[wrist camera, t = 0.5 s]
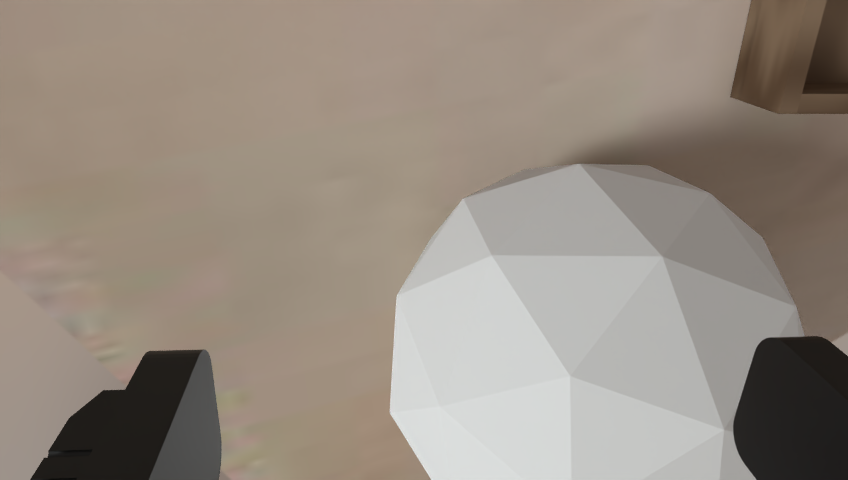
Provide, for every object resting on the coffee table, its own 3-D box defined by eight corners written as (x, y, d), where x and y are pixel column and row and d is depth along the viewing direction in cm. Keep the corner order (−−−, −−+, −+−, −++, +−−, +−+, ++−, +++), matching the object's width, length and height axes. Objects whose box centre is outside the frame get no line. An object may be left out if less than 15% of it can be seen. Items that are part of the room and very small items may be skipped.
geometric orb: (573, 187, 44) (915, 255, 30) (483, 450, 44) (785, 640, 30) (386, 76, 31) (847, 105, 17) (257, 454, 31) (611, 801, 17)
